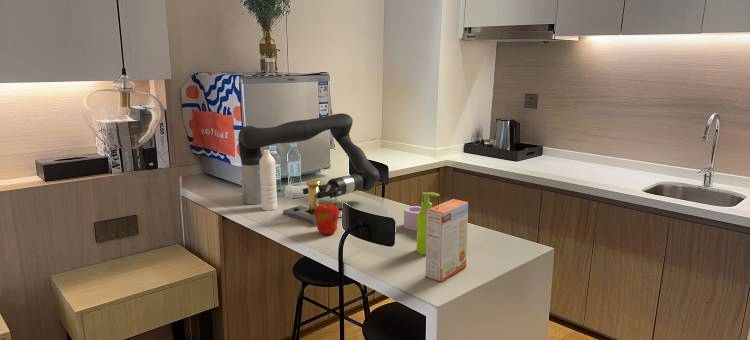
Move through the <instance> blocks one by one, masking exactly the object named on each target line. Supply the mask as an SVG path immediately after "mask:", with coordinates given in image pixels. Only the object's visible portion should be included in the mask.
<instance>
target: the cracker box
mask: <svg viewBox="0 0 750 340" xmlns="http://www.w3.org/2000/svg"><path fill="white" fill-rule="evenodd" d="M468 217H469V201H464V200H459V199H456V198H452V199H449V200H447V201H444V202H442V203H440V204H437V205H434V206H432V208H429V209H427V210H426V255H425V277H426V278H429V279H430V280H435V281H437V282H439V283H441V282H444V281H445V280H447V279H449V278H450V277H452V276H453V275H456V274H457V273H459V272H460V271H461V270H463V269H465V268H467V256H468V255H467V254H468V253H467V252H468V251H467V250H468V249H467V248H468V223H469V221H468V220H469V219H468Z"/></svg>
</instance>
